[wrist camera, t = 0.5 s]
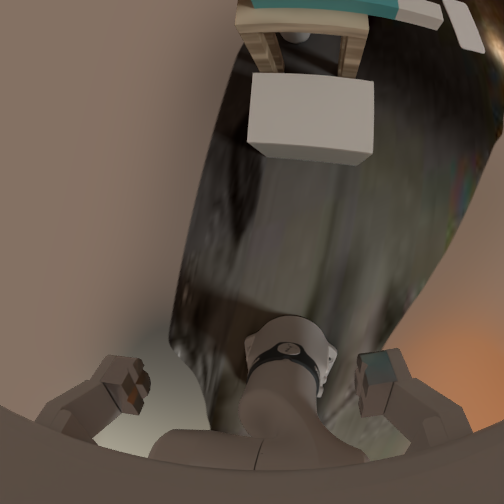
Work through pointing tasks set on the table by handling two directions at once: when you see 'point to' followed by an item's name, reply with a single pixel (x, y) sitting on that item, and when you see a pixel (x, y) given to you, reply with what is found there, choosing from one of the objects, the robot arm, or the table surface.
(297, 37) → the salt shaker
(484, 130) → the table surface
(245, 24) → the wooden stand
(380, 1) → the marker
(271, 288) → the table surface
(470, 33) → the smartphone
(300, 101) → the white rectangular block
